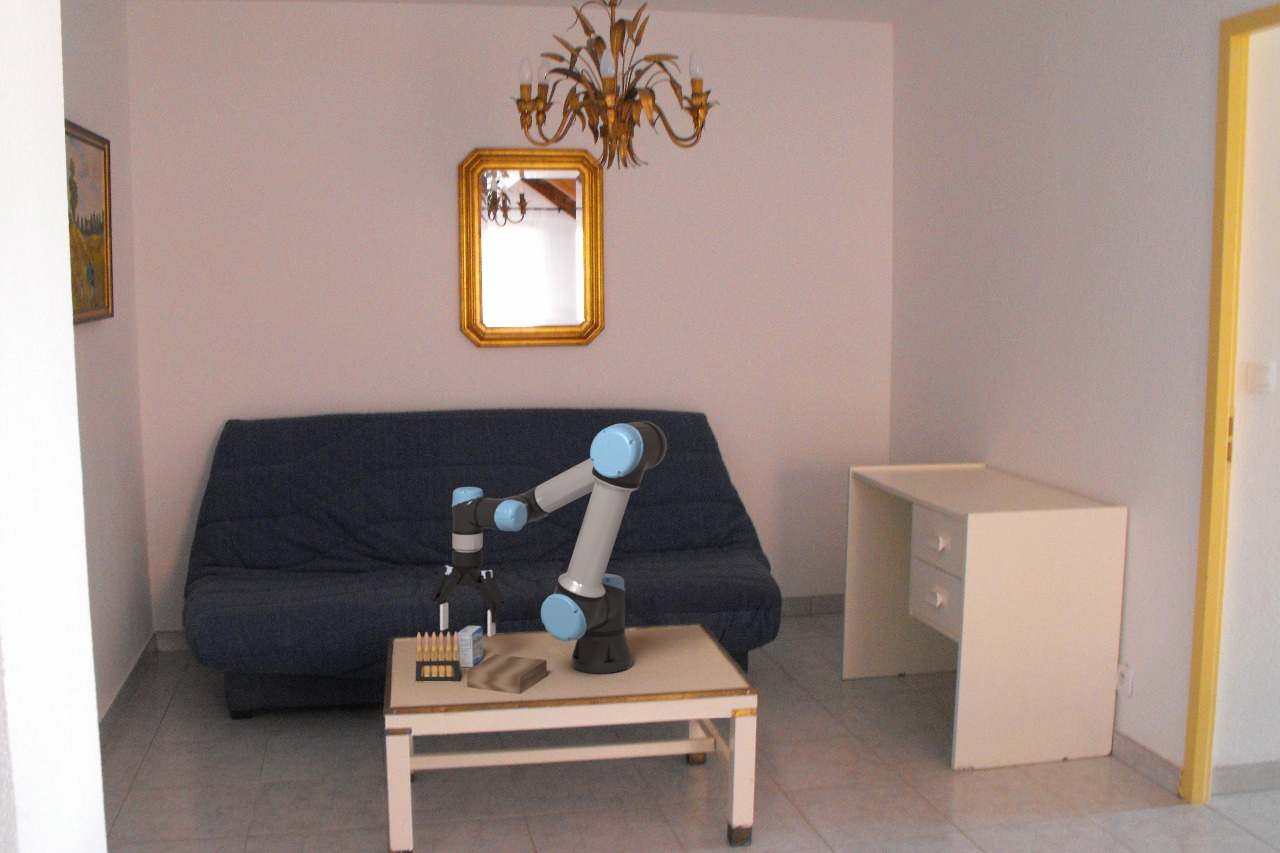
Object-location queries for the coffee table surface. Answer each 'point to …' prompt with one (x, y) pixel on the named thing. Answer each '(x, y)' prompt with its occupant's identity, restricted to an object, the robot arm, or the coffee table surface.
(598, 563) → the robot arm
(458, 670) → the ammunition clip
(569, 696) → the coffee table surface
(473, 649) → the medicine box
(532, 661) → the walnut base
